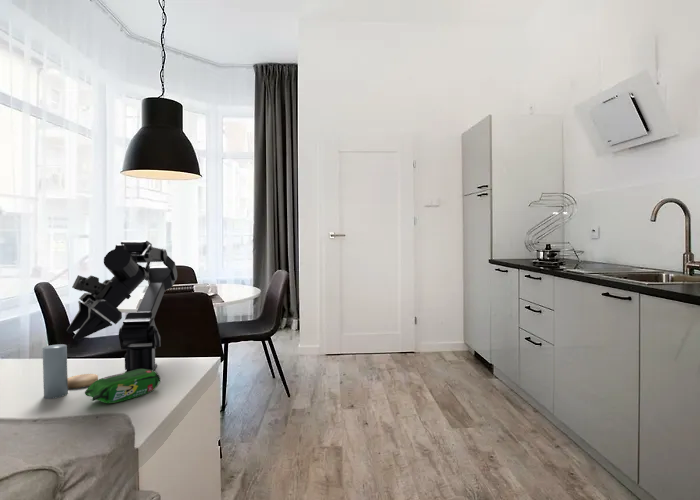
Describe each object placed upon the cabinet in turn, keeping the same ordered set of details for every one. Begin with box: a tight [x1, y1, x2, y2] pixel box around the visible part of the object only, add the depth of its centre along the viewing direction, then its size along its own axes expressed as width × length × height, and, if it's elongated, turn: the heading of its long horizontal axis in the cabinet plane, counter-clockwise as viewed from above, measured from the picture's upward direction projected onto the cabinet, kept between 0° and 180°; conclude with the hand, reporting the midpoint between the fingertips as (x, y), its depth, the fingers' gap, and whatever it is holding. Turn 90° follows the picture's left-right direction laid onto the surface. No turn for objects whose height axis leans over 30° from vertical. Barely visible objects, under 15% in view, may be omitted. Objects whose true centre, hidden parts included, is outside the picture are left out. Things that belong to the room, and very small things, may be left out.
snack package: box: [84, 369, 161, 404], centre depth 95 cm, size 7×16×5 cm, turn 144°
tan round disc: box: [68, 373, 99, 390], centre depth 104 cm, size 7×7×1 cm
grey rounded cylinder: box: [41, 343, 69, 400], centre depth 96 cm, size 4×4×11 cm
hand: (71, 335), depth 99 cm, fingers open, 9 cm apart
